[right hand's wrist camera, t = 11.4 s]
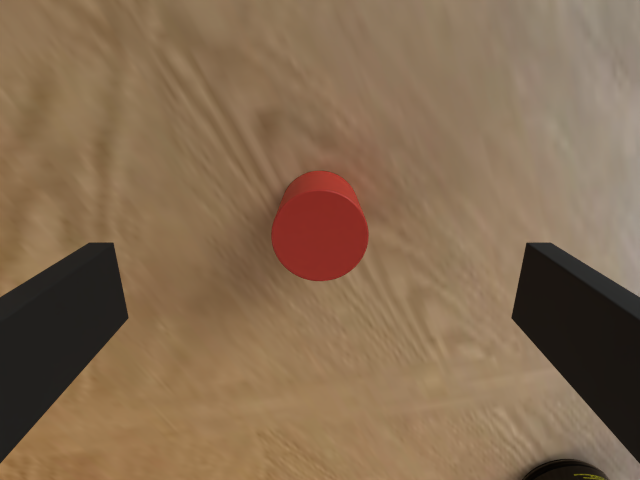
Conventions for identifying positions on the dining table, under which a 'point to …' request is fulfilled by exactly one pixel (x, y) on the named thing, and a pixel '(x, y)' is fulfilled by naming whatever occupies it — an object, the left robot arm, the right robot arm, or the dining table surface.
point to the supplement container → (566, 471)
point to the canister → (319, 227)
